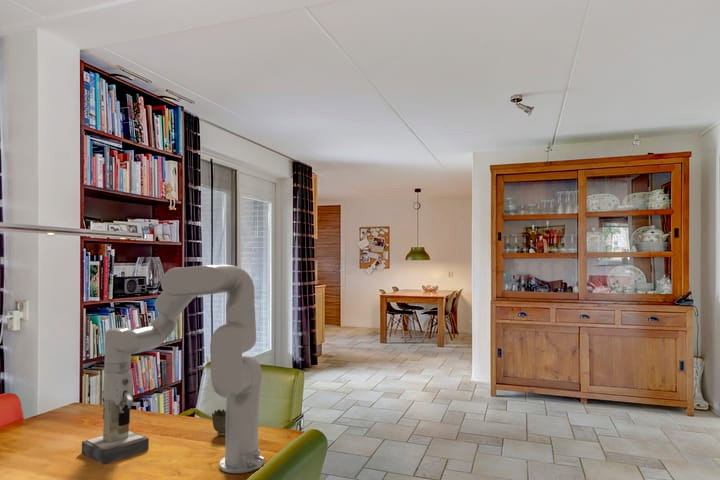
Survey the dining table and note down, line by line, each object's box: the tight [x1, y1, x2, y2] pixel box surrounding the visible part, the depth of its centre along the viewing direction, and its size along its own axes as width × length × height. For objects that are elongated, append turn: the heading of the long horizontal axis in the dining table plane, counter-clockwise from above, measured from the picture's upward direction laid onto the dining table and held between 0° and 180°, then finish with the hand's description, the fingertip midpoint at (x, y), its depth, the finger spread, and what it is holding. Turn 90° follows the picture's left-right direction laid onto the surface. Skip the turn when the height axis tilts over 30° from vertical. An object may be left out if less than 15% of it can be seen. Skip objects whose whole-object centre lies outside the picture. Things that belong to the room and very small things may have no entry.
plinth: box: [81, 429, 150, 466], centre depth 150 cm, size 14×14×4 cm
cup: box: [211, 409, 226, 437], centre depth 164 cm, size 8×7×8 cm
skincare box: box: [102, 400, 130, 442], centre depth 150 cm, size 6×4×12 cm
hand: (116, 421), depth 150 cm, fingers open, 9 cm apart
